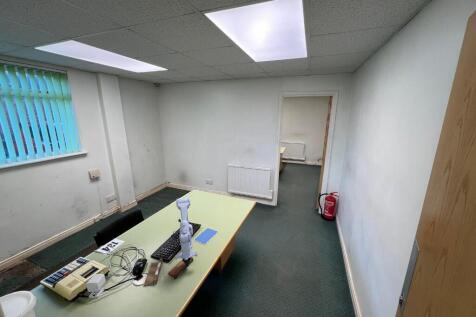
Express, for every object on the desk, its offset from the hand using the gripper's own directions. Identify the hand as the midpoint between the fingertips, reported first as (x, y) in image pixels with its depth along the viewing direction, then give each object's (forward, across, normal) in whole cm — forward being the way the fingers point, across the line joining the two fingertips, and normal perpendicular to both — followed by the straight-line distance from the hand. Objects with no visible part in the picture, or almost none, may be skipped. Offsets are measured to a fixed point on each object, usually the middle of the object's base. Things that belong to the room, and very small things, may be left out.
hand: (187, 265), depth 127 cm
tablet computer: (+3, +13, +33) cm, 35 cm away
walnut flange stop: (+2, -22, 0) cm, 22 cm away
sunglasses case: (+3, -5, +2) cm, 6 cm away
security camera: (+2, -52, -8) cm, 53 cm away
